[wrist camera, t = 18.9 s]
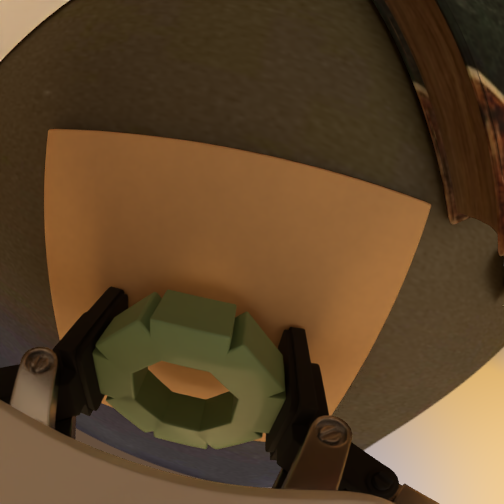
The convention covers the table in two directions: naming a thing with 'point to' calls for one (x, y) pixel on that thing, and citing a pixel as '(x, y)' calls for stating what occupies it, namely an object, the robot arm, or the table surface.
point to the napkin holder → (22, 19)
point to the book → (459, 96)
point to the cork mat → (227, 242)
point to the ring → (197, 357)
